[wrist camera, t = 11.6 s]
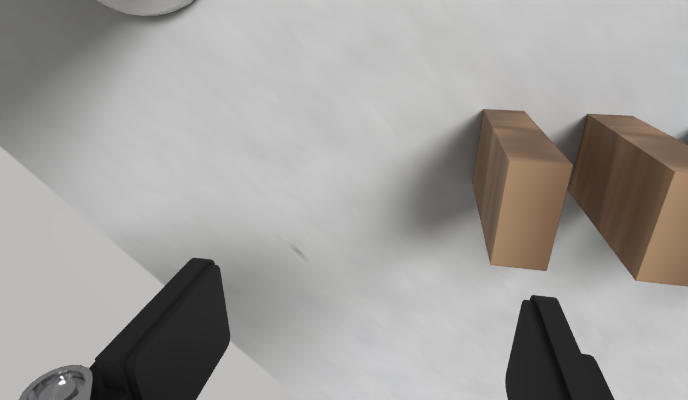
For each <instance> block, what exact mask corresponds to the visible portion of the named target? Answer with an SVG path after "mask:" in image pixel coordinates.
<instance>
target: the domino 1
mask: <svg viewBox="0 0 688 400" xmlns="http://www.w3.org/2000/svg"><path fill="white" fill-rule="evenodd" d="M572 167H573V165H572V163H571V162H570V161H569V160H568V159H567V158H566V157H565V156H564V155H563V153H562V152H561V151H560V150H559V149H558V148H557V147H556V146H555V145H554V144H553V142H552V141H551V140H550V139H549V138H548V137H547V136H546V135H545V134H544V132H543V131H542V130H541V129H540V128H539V127H538V126H537V125H536V124H535V123H534V121H533V120H532V119H531V118H530V117H529V116H528V115H527V114H526V113H525V111H510V110H488V109H483V116H482V122H481V129H480V136H479V143H478V150H477V157H476V164H475V171H474V178H473V188H474V192H475V197H476V201H477V206H478V210H479V215H480V219H481V224H482V228H483V233H484V238H485V242H486V247H487V251H488V256H489V260H490V265H496V266H505V267H515V268H524V269H533V270H542V271H547V268H548V264H549V260H550V256H551V252H552V248H553V244H554V240H555V236H556V232H557V228H558V224H559V220H560V216H561V211H562V207H563V203H564V199H565V195H566V191H567V187H568V183H569V179H570V175H571V171H572Z"/></svg>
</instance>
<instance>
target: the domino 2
mask: <svg viewBox="0 0 688 400" xmlns="http://www.w3.org/2000/svg"><path fill="white" fill-rule="evenodd" d="M569 192H570V193H571V195H572V196H573V197H574V199H575V200H576V201H577V203H578V204H579V205H580V207H581V208H582V210H583V211H584V212H585V214H586V215H587V216H588V218H589V219H590V220H591V222H592V223H593V224H594V226H595V227H596V228H597V230H598V231H599V232H600V234H601V235H602V236H603V238H604V239H605V240H606V242H607V243H608V244H609V246H610V247H611V248H612V250H613V251H614V252H615V254H616V255H617V256H618V258H619V259H620V260H621V262H622V263H623V264H624V266H625V267H626V268H627V270H628V271H629V272H630V274H631V275H632V276H633V278H634V279H635V280H636V281H643V282H652V283H661V284H670V285H680V286H688V145H687V144H685V143H683V142H681V141H679V140H677V139H675V138H673V137H672V136H670V135H668V134H666V133H664V132H662V131H660V130H658V129H656V128H654V127H652V126H651V125H649V124H647V123H645V122H643V121H641V120H639V119H637V118H635V117H633V116H622V115H600V114H588V116H587V120H586V124H585V128H584V132H583V136H582V140H581V144H580V148H579V152H578V156H577V160H576V164H575V167H574V171H573V175H572V179H571V183H570V187H569Z"/></svg>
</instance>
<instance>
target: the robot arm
mask: <svg viewBox="0 0 688 400" xmlns="http://www.w3.org/2000/svg"><path fill="white" fill-rule="evenodd" d="M96 1H98V2H100V3H102V4H103V5H105V6H107V7H109V8H111V9H114V10H117V11H120V12H123V13H125V14H132V15H140V16H154V15H162V14H167V13H171V12H175V11H177V10H179V9H181V8H183V7H184V6H186V5H188V4H190V3H191V2H192V1H193V0H96ZM229 341H230V331H229V324H228V318H227V311H226V305H225V298H224V292H223V286H222V279H221V273H220V268H219V266H217V265H215V263H214V261H213V260H210V259H201V258H192V259H191V260H190V261H189V262H188V263H187V264H186V265H185V266H184V267H183V268H182V269H181V270H180V271H179V272H178V273H177V274H176V275H175V276H174V277H173V278H172V279H171V280H170V281H169V282H168V283H167V284H166V285H165V287H164V288H163V289H162V290H161V291H160V292H159V293H158V294H157V295H156V296H155V297H154V298H153V299H152V300H151V301H150V302H149V303H148V304H147V305H146V306H145V307H144V309H142V311H140V313H139V314H138V315H137V316H136V317H135V318H134V319H133V320H132V321H131V322H130V323H129V324H128V325H127V326H126V327H125V328H124V329H123V330H122V331H121V332H120V333H119V334H118V335H117V336H116V337H115V338H114V339H113V340H112V342H111V343H110V344H109V345H108V346H107V347H106V348H105V349H104V350H103V351H102V352H101V353H100V354H99V355H98V356H97V357H96V358H95V362H94V363H93V365H92V366H91V367H90V368H89V369H88V368H87V367H84V366H82V365H69V366H64V367H60V368H58V369H55V370H52V371H50V372H48V373H46V374H44V375H42V376H40V377H39V378H38V379H36V380H35V381H34V382H32V383H31V384H30V385H29V386H28V387H27V388H26V389H25V391H24V392H23V393H22V395H21V397H20V399H19V400H196V399H197V397H198V395H199V394H200V392H201V390H202V389H203V387H204V385H205V384H206V382H207V381H208V379H209V377H210V376H211V374H212V372H213V370H214V369H215V367H216V365H217V364H218V362H219V361H220V359H221V357H222V356H223V354H224V352H225V351H226V349H227V347H228V345H229ZM506 392H507V397H508V400H614V398H613V396H612V394H611V391H610V389H609V387H608V385H607V383H606V381H605V379H604V376H603V374H602V372H601V370H600V368H599V366H598V364H597V362H596V360H595V359H594V357H592V356H591V355H587V354H581V352H580V350H579V347H578V345H577V343H576V341H575V338H574V336H573V334H572V331H571V329H570V327H569V324H568V322H567V320H566V318H565V315H564V313H563V311H562V308H561V306H560V304H559V301H558V300H557V298H554V297H545V296H536V295H532V296H531V298H530V300H523V302H522V305H521V309H520V314H519V318H518V323H517V327H516V332H515V336H514V341H513V345H512V350H511V354H510V359H509V363H508V368H507V372H506Z"/></svg>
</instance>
